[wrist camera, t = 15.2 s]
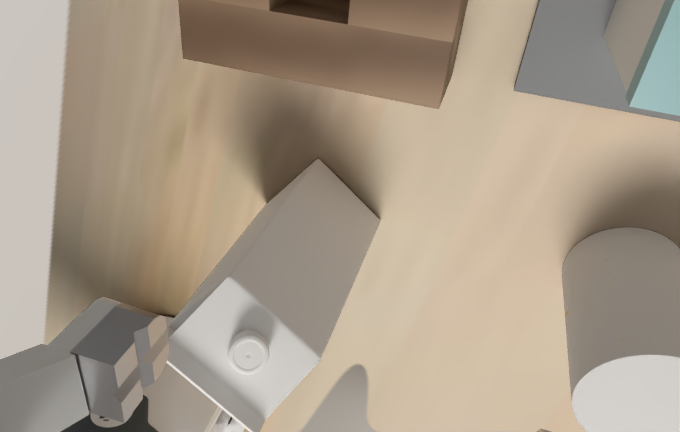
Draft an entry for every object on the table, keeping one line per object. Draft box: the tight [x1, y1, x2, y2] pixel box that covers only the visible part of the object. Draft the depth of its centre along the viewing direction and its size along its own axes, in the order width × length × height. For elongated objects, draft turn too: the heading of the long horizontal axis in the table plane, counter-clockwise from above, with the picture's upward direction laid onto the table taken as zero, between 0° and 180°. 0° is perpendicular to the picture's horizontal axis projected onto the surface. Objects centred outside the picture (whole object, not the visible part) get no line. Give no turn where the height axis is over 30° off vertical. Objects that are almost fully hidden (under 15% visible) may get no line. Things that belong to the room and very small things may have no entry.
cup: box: [562, 227, 680, 432], centre depth 33 cm, size 8×8×12 cm
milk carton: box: [166, 159, 380, 432], centre depth 36 cm, size 7×7×19 cm
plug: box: [603, 0, 680, 116], centre depth 24 cm, size 4×4×11 cm
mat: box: [514, 0, 680, 122], centre depth 29 cm, size 12×12×1 cm
